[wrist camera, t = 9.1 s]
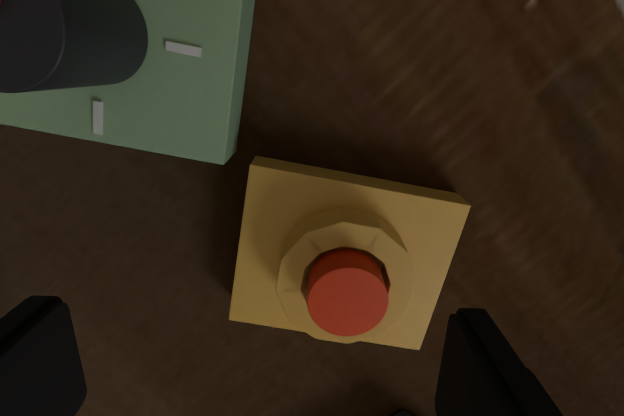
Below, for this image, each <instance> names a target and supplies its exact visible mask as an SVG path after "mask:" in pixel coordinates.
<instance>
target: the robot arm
mask: <svg viewBox="0 0 624 416" xmlns="http://www.w3.org/2000/svg"><path fill="white" fill-rule="evenodd" d="M86 393H87V387H86V382H85V378H84V374H83V369H82V365H81V360H80V356H79V351H78V347H77V343H76V338H75V334H74V329H73V325H72V320H71V316H70V311H69V308H68V305H67V304H66V303H63V302H62V300H61V299H60V297H57V296H30V297H28V298H26V299H25V300H24V301H23V302H21V303H20V304H19V305H18V306H16V307H15V308H14V309H12V310H11V311H10V312H9V313H7V314H6V315H5V316H4V317H2V318H1V319H0V416H75V414H76V413H77V411H78V410H79V409H80V407H81V406H82V404H83V402H84V400H85V397H86ZM435 410H436V414H437V416H563V415H562V413H561V412H560V410H559V409H558V408H557V406H556V405H555V403H554V402H553V401H552V399H551V398H550V396H549V395H548V393H547V392H546V391H545V389H544V388H543V386H542V385H541V384H540V382H539V381H538V379H537V378H536V377H535V375H534V374H533V373H532V372H531V371H530V370H529V369H527V368H526V367H525V366H524V364H523V363H522V361H521V360H520V359H519V357H518V356H517V354H516V353H515V351H514V350H513V349H512V347H511V346H510V344H509V343H508V341H507V340H506V339H505V337H504V336H503V334H502V333H501V331H500V330H499V328H498V327H497V326H496V324H495V323H494V321H493V320H492V318H491V317H490V316H489V314H488V313H487V311H486V310H485V309H478V308H459V309H458V310H457V312H456V314H451V315H450V316H449V320H448V326H447V332H446V338H445V343H444V349H443V355H442V361H441V367H440V372H439V378H438V384H437V390H436V396H435Z"/></svg>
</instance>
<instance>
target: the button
mask: <svg viewBox="0 0 624 416" xmlns="http://www.w3.org/2000/svg"><path fill="white" fill-rule="evenodd" d="M388 302H389V299H388V293H387V289H386V286H385V283H384V280H383V277H382V274H381V271H380V269H379V267H378V265H377V264H376V263H375V261H374V260H373V259H372V258H370V257H369V256H367V255H366V254H364V253H362V252H359V251H355V250H348V249H344V250H337V251H333V252H330V253H328V254H326V255H324V256H323V257H321V258H320V259H319V260H318V261H317V262H316V263H315V264H314V265H313V267H312V268H311V271H310V273H309V276H308V289H307V307H308V311H309V314H310V316H311V318H312V319H313V321H314V322H315V323H316V324H317V325H318V326H319V327H320V328H321V329H323V330H324V331H326V332H328V333H331V334H334V335H338V336H356V335H360V334H363V333H365V332H368V331H370V330H371V329H373V328H374V327H375V326H377V325H378V324H379V323H380V322H381V320H382V319H383V317H384V316H385V314H386V311H387V308H388Z"/></svg>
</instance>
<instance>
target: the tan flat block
mask: <svg viewBox="0 0 624 416" xmlns="http://www.w3.org/2000/svg"><path fill="white" fill-rule="evenodd" d="M470 207H471V205H470V204H469V203H467V202H466V201H465V200H464V199H463V198H462V197H461V196H459V195H458V194H457V193H454V192H448V191H443V190H438V189H432V188H427V187H422V186H416V185H411V184H406V183H400V182H395V181H390V180H384V179H379V178H374V177H368V176H363V175H357V174H352V173H347V172H341V171H336V170H331V169H325V168H320V167H315V166H309V165H304V164H299V163H293V162H288V161H283V160H277V159H272V158H267V157H261V156H255V158H254V159H253V161H252V162H251V164H250V166H249V173H248V180H247V188H246V195H245V202H244V210H243V217H242V224H241V231H240V239H239V246H238V253H237V261H236V268H235V275H234V283H233V290H232V297H231V304H230V312H229V320H234V321H240V322H246V323H252V324H259V325H265V326H271V327H277V328H284V329H290V330H296V331H302V332H306V333H308V334H309V335H311V336H312V337H313V338H316V339H321V340H327V341H334V342H340V343H346V344H348V343H353V342H357V341H365V342H371V343H377V344H383V345H390V346H396V347H402V348H408V349H415V350H420V347H421V344H422V341H423V339H424V336H425V333H426V330H427V327H428V325H429V322H430V319H431V316H432V313H433V311H434V308H435V305H436V302H437V299H438V297H439V294H440V291H441V288H442V285H443V283H444V280H445V277H446V274H447V271H448V269H449V266H450V263H451V260H452V257H453V255H454V252H455V249H456V246H457V243H458V241H459V238H460V235H461V232H462V229H463V227H464V224H465V221H466V218H467V215H468V213H469V210H470ZM344 249H348V250H355V251H359V252H362V253H364V254H366V255H367V256H369V257H370V258H372V259H373V260H374V261H375V263H376V264H377V265H378V267H379V269H380V271H381V274H382V277H383V280H384V283H385V286H386V289H387V293H388V299H389V302H388V308H387V311H386V314H385V316H384V317H383V319H382V320H381V322H380V323H379V324H378V325H377V326H375V327H374V328H373V329H371V330H370V331H368V332H365V333H363V334H360V335H356V336H338V335H334V334H331V333H328V332H326V331H324V330H323V329H321V328H320V327H319V326H318V325H317V324H316V323H315V322H314V321H313V319H312V318H311V316H310V314H309V311H308V307H307V289H308V276H309V273H310V271H311V268H312V267H313V265H314V264H315V263H316V262H317V261H318V260H319V259H320V258H321V257H323V256H324V255H326V254H328V253H330V252H333V251H337V250H344Z"/></svg>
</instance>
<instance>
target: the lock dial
mask: <svg viewBox="0 0 624 416" xmlns="http://www.w3.org/2000/svg"><path fill="white" fill-rule="evenodd" d="M147 48H148V32H147V26H146V23H145V19H144V17H143V14H142V12H141V10H140V8H139V6H138V5H137V3H136V2H135V0H0V92H1V93H22V92H33V91H44V90H55V89H67V88H78V87H89V86H101V85H111V84H117V83H120V82H123V81H125V80H127V79H129V78H130V77H131V76H133V75H134V74H135V73H136V72H137V71H138V69H139V68H140V67H141V65H142V63H143V61H144V59H145V56H146V53H147Z"/></svg>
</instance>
